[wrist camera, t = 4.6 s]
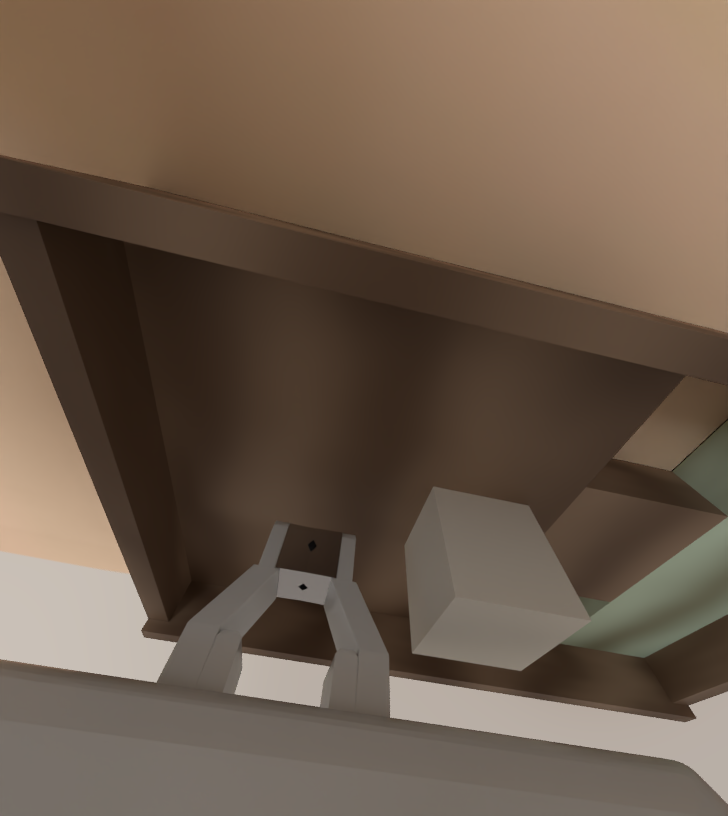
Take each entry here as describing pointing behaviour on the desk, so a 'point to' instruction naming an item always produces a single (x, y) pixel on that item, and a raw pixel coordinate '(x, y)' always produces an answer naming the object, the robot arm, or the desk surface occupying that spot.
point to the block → (486, 583)
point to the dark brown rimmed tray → (370, 427)
